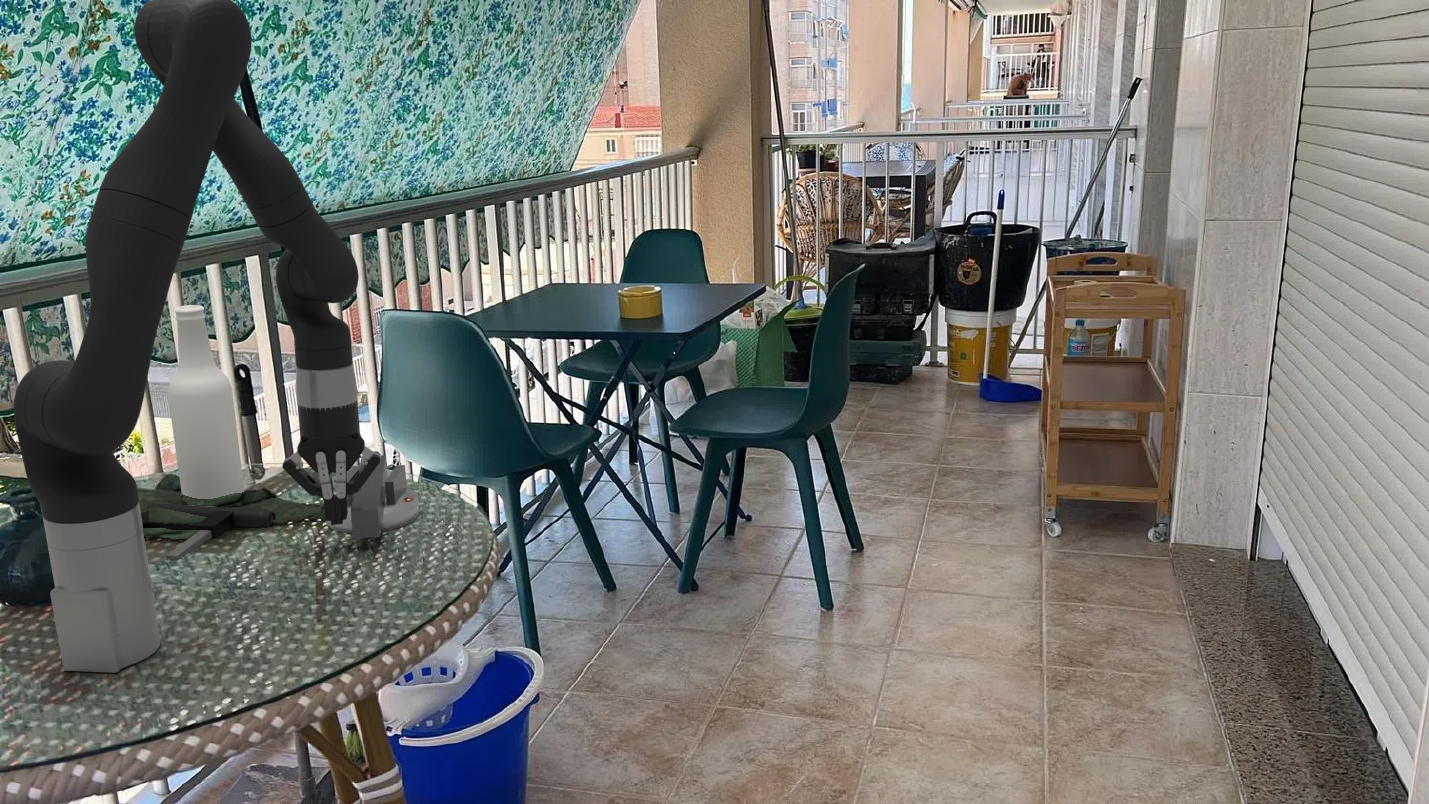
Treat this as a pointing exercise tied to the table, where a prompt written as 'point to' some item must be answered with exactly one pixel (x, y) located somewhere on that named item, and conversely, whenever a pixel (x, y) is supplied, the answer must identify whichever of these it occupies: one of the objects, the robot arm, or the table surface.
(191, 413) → the alcohol
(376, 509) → the bar
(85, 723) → the table surface
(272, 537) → the table surface
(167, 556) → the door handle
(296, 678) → the table surface
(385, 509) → the slotted disc stand
